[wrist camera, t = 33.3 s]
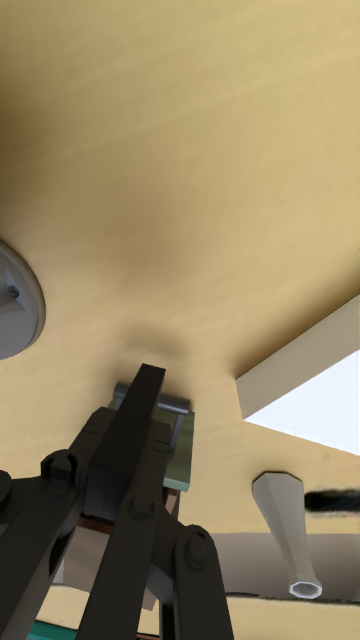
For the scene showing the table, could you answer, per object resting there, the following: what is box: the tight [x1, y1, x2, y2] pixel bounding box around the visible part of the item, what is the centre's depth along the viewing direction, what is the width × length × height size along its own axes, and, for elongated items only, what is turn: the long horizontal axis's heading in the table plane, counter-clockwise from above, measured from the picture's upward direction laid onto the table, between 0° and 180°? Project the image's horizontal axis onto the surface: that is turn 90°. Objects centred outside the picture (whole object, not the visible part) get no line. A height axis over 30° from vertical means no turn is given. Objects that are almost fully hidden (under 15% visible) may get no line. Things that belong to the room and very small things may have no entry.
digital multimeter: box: [26, 621, 77, 640], centre depth 59 cm, size 7×15×3 cm, turn 84°
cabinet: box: [63, 490, 181, 611], centre depth 29 cm, size 14×12×11 cm
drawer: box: [83, 381, 195, 526], centre depth 25 cm, size 19×10×9 cm, turn 168°
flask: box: [253, 473, 322, 599], centre depth 27 cm, size 7×7×10 cm
